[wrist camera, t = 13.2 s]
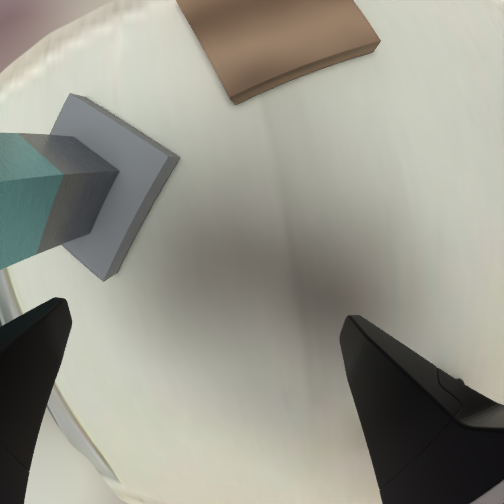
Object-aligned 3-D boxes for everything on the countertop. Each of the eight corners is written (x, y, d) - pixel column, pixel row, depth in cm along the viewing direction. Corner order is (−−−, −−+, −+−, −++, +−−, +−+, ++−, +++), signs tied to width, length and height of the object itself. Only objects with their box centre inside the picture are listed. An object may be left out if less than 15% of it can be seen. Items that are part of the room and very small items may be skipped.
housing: (119, 170, 17) (-33, 186, 6) (90, 233, 19) (-43, 289, 8) (73, 136, 17) (-64, 134, 6) (48, 196, 19) (-77, 226, 8)
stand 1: (180, 157, 19) (168, 156, 17) (116, 272, 22) (103, 281, 20) (85, 97, 18) (69, 93, 16) (39, 203, 21) (23, 207, 19)
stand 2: (373, 52, 15) (380, 40, 13) (235, 104, 17) (229, 97, 15) (301, -44, 13) (301, -59, 12) (179, 2, 16) (170, -10, 14)
